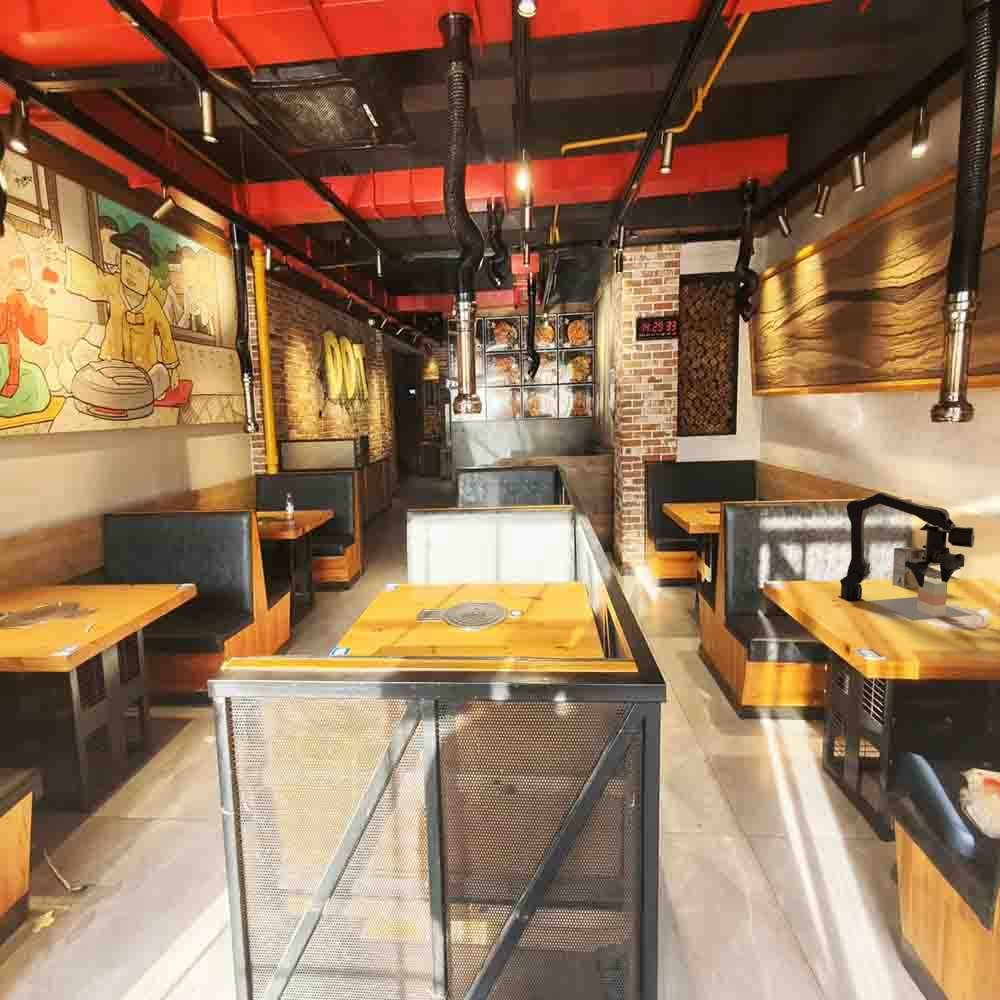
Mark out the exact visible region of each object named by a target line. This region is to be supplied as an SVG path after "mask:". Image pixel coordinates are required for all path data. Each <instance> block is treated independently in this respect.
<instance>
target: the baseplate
mask: <svg viewBox="0 0 1000 1000" xmlns="http://www.w3.org/2000/svg"><path fill="white" fill-rule="evenodd" d="M865 602H866V603H867V604H871V605H873V606H876V607H878V608H880V609H883V610H886V611H888V612H890V613H893V614H895V615H899V616H901V617H903V618H905V619H908V620H910V621H921V620H923V621H925V620H933V619H935V620H936V619H944V618H945V619H946V618H957V617H967V616H973V614H971V613H969V612H966V611H962V610H959V609H957V608H954V607H952V606H949V605H947V604H946V605H939V606H933V605H930V604H927V603H925V602H922V601H919V600H918V596H911V597H909V596H908V597H900V598H898V597H897V598H888V599H887V598H886V599H875V600H874V599H873V600H865Z"/></svg>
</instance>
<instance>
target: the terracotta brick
mask: <svg viewBox="0 0 1000 1000" xmlns="http://www.w3.org/2000/svg"><path fill="white" fill-rule="evenodd" d="M947 594H948V593H947ZM947 594H941V595H934V594H931V593H928V592H925V591H922V590H919V589H918V588H917V597H918V600H919V601H922V602H925V603H927V604H930V605H933V606H939V605H946V606H947Z"/></svg>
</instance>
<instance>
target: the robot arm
mask: <svg viewBox="0 0 1000 1000" xmlns="http://www.w3.org/2000/svg"><path fill="white" fill-rule="evenodd" d="M877 505H883V506H886V507H888V508H891V509H893V510H898V511H901V512H903V513H907V514H909V515H913V516H915V517H917V518H919V519H920V520H921V521H923V522H925V525H923V526H922V527H920V528H919V530H920V531H926V538H925V544H923V545H922V549H924V550H925V556H922V559H924V560H925V561H923V560H920V559H916V558H915V559H907V560H906V561H905V566H906V567H908V569H911V571H912V573H913V574H914V576H915V578H916V580H917V582H918V584H919V586H920V587H923V585H924V578H926V575H925V574H927V573H928V572H929V570H928V569H929V567H931V566H939V570H940V579H941V580H940V581H942V582H946V583H948V582H949V581H950V578H951V577H952V575H953V574H954V572H956V571H958V570H961V569H962V568H964V567H965V560H966V559H965V555H964V554H963V553H957V554H955V553H950V547H947V543H949V544H950V545H951V546H954V547H961V548H962V547H963V548H969V549H970V548H971V549H972V548H974V544H975V537H976V536H975V531H974V528H973V527H970V526H969V527H961V526H956V524H955V523H954V522H953V521H952V519H951V518H950V513H949V511H948V510H947V509H945V508H943V507H938V506H933V505H931V506H930V505H922V504H919V503H915V502H912V501H910V500H907V499H906V500H905V499H902V498H899V497H897V496H894V495H890V494H888V493H886V492H883V491H882V492H877V493H875V494H874V495H872V496H870V497H867V498H865V499H864V498H856V499H853V500H851V501H849V502H848V503H847V504H846V507H845V508H846V513H847V517H848V521H849V523H850V542H851V543H850V558H851V559H850V561H849V564H848V567H847V572H846V576H844V577H842V578H840V580H839V581H840V585H841V587H840V595H838V596H837V598H839V599H841V600H843V601H846V602H849V603H850V602H861V601H862V602H863V601H864V599H863V596H862V595H863V587H862V583H863V582H864V580H866V579H867V578H868V577H869V575H870V574H871V569H870V568H871V562H866V559H865V521H866V519H867V515H868V510H869V508H872V507H874V506H877ZM948 584H949V583H948ZM864 602H865V601H864Z"/></svg>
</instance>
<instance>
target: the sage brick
mask: <svg viewBox="0 0 1000 1000" xmlns="http://www.w3.org/2000/svg"><path fill="white" fill-rule="evenodd" d="M948 584H949V583H946V582H942V581H941V580H940V579H935V578H933V577H925V578H924V585H923V587H920V586H919V587H917V590H918V589H919V590H922V591H925V592H928V593H931V594H934V595H941V594H948Z"/></svg>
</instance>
